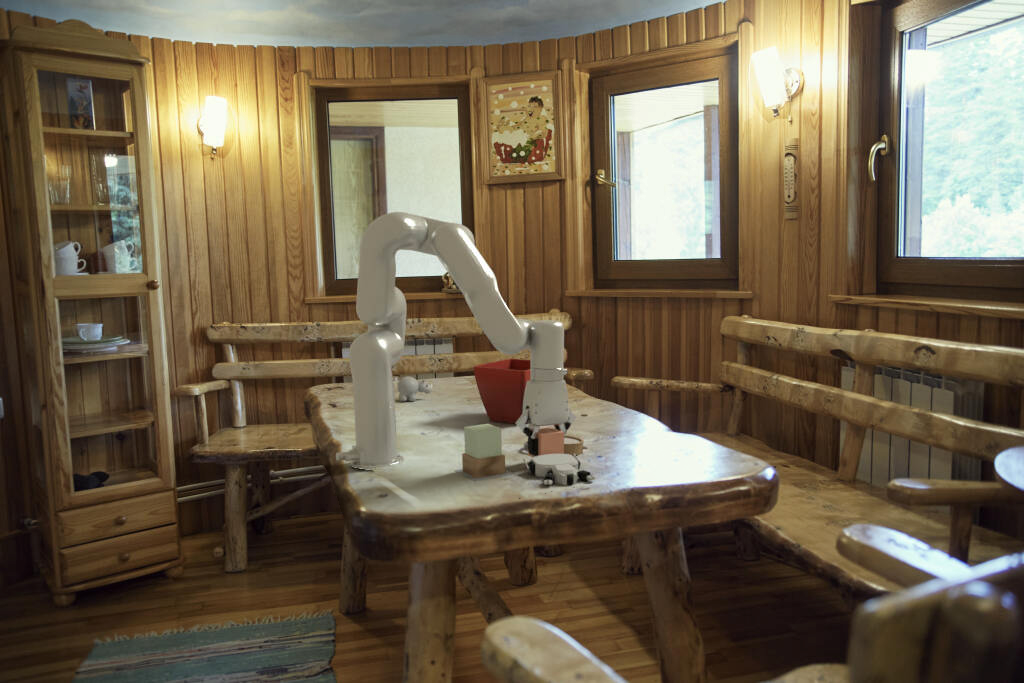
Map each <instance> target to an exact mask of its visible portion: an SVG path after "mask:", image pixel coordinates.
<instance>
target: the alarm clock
mask: <svg viewBox="0 0 1024 683" xmlns="http://www.w3.org/2000/svg"><path fill="white" fill-rule="evenodd" d="M584 442H585V440H584V439H583V438H580V437H576V436H574V435H564V454H570V455H572V456H573V457H575V456H574V454H575V455H579V456H580V454H581V455H582V454H583V453H584V450H588V449H589V448H588V447H586V446H584ZM523 444H524V445H523V446H524V448H525V449H527V450H528V440H527V441H525V442H524V443H523Z"/></svg>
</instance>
